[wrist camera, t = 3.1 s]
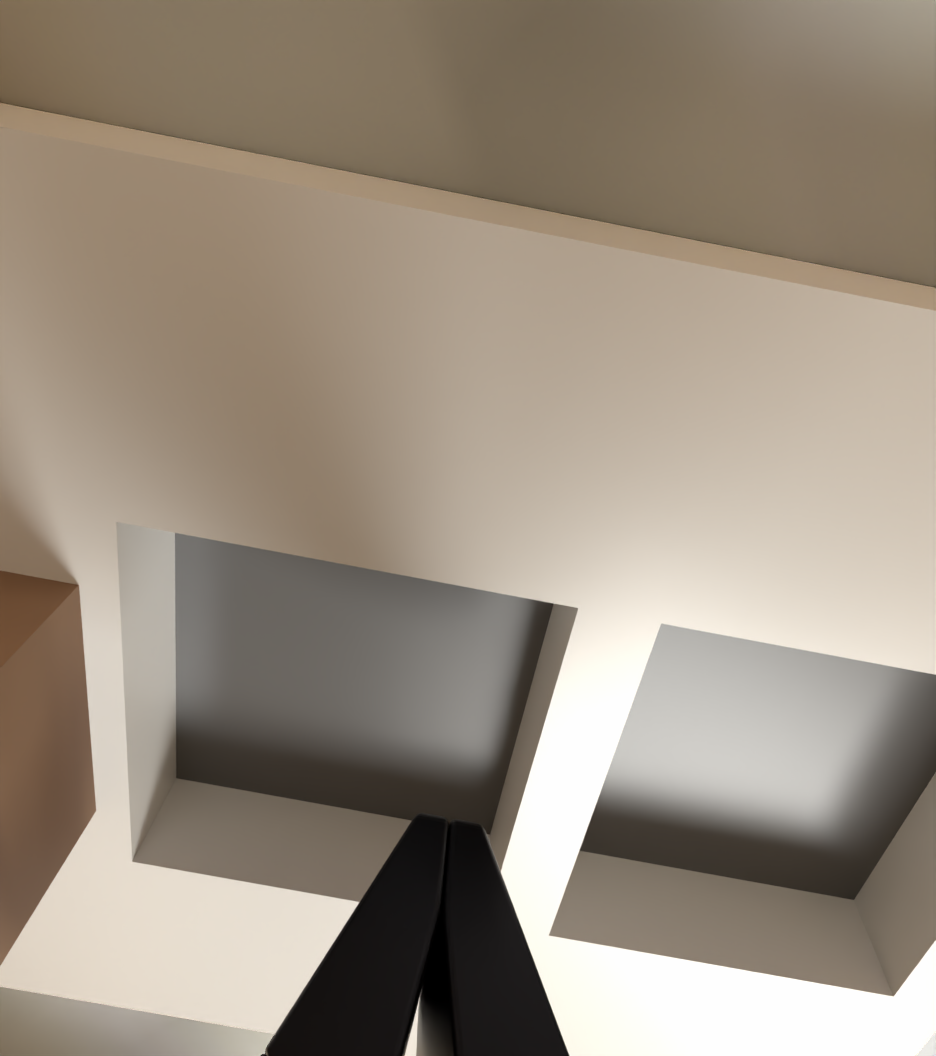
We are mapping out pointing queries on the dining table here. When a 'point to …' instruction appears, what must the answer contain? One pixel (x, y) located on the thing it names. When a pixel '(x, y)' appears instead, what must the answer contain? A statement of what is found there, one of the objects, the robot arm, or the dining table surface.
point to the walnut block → (40, 742)
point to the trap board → (474, 591)
